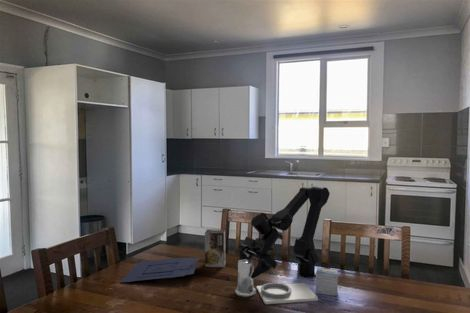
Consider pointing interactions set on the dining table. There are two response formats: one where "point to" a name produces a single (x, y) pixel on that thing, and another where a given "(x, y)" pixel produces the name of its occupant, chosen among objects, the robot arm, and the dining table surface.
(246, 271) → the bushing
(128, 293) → the dining table surface
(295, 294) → the locating plate
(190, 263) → the papers
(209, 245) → the coffee box
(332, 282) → the medicine box
